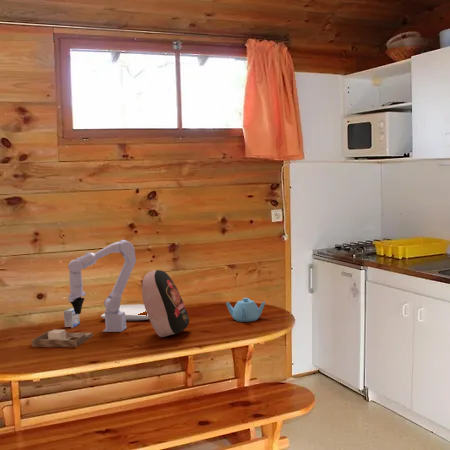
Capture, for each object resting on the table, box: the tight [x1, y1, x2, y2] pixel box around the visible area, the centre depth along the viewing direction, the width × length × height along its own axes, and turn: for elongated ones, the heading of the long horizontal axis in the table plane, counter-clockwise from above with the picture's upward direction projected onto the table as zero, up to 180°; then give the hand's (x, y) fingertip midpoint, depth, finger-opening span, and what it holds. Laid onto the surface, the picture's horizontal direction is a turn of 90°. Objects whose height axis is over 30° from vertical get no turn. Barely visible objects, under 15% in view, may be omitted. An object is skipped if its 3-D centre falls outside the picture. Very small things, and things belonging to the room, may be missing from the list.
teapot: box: [225, 297, 266, 323], centre depth 291 cm, size 15×15×11 cm
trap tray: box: [31, 329, 94, 348], centre depth 265 cm, size 21×18×3 cm
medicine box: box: [63, 307, 80, 329], centre depth 294 cm, size 8×4×9 cm, turn 168°
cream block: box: [47, 328, 67, 340], centre depth 260 cm, size 6×6×4 cm
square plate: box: [100, 303, 149, 321], centre depth 311 cm, size 27×27×4 cm
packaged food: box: [141, 269, 190, 338], centre depth 268 cm, size 22×20×30 cm
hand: (78, 313), depth 276 cm, fingers closed
